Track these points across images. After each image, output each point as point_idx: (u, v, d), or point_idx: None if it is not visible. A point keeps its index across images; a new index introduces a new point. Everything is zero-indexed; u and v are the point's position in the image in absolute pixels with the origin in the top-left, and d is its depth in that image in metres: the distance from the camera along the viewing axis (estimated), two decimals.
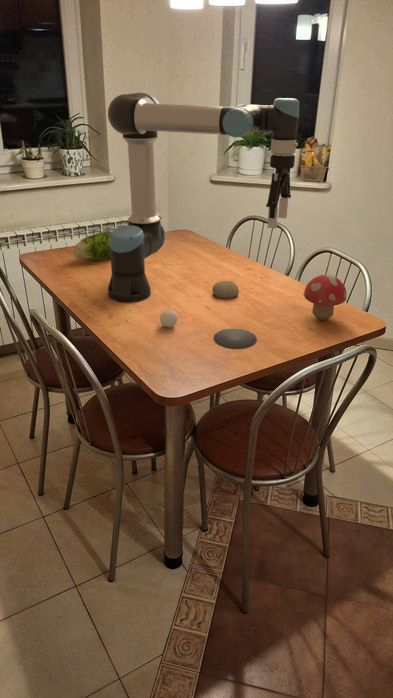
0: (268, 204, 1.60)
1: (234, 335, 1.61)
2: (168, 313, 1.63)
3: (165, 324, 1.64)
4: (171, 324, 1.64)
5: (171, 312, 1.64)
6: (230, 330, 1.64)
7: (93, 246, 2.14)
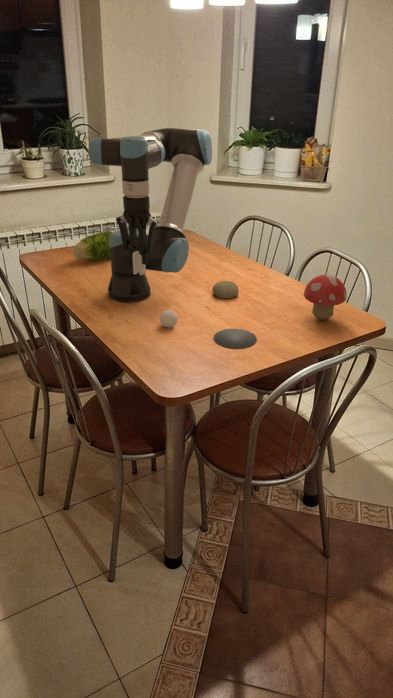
0: None
1: (234, 335, 1.61)
2: (168, 313, 1.63)
3: (165, 324, 1.64)
4: (171, 324, 1.64)
5: (171, 312, 1.64)
6: (230, 330, 1.64)
7: (93, 246, 2.14)
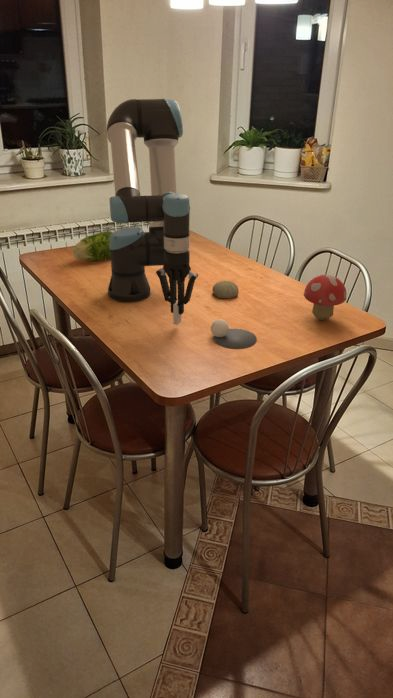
0: None
1: (234, 335, 1.61)
2: (218, 322, 1.58)
3: (217, 334, 1.58)
4: (223, 333, 1.58)
5: (221, 321, 1.58)
6: (230, 330, 1.64)
7: (93, 246, 2.14)
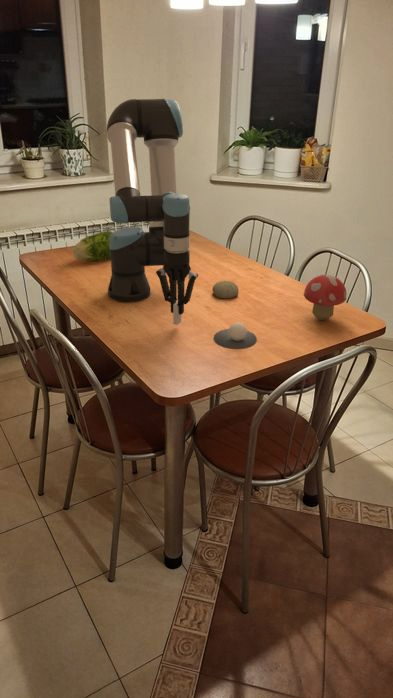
0: None
1: None
2: (242, 338, 1.57)
3: (232, 334, 1.56)
4: (231, 337, 1.58)
5: (243, 338, 1.58)
6: None
7: (93, 246, 2.14)
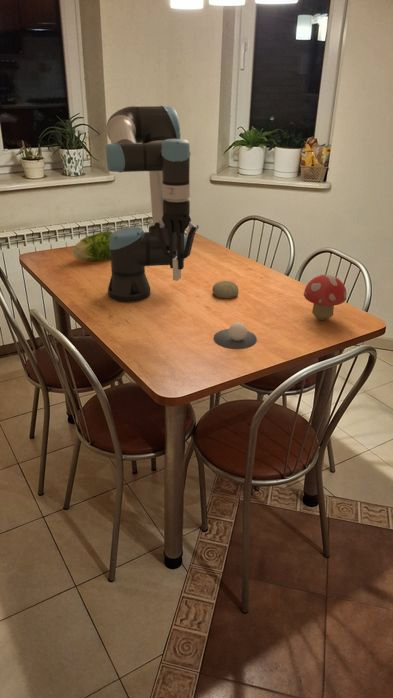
0: None
1: None
2: (242, 338, 1.57)
3: (232, 334, 1.56)
4: (231, 337, 1.58)
5: (243, 338, 1.58)
6: None
7: (93, 246, 2.14)
